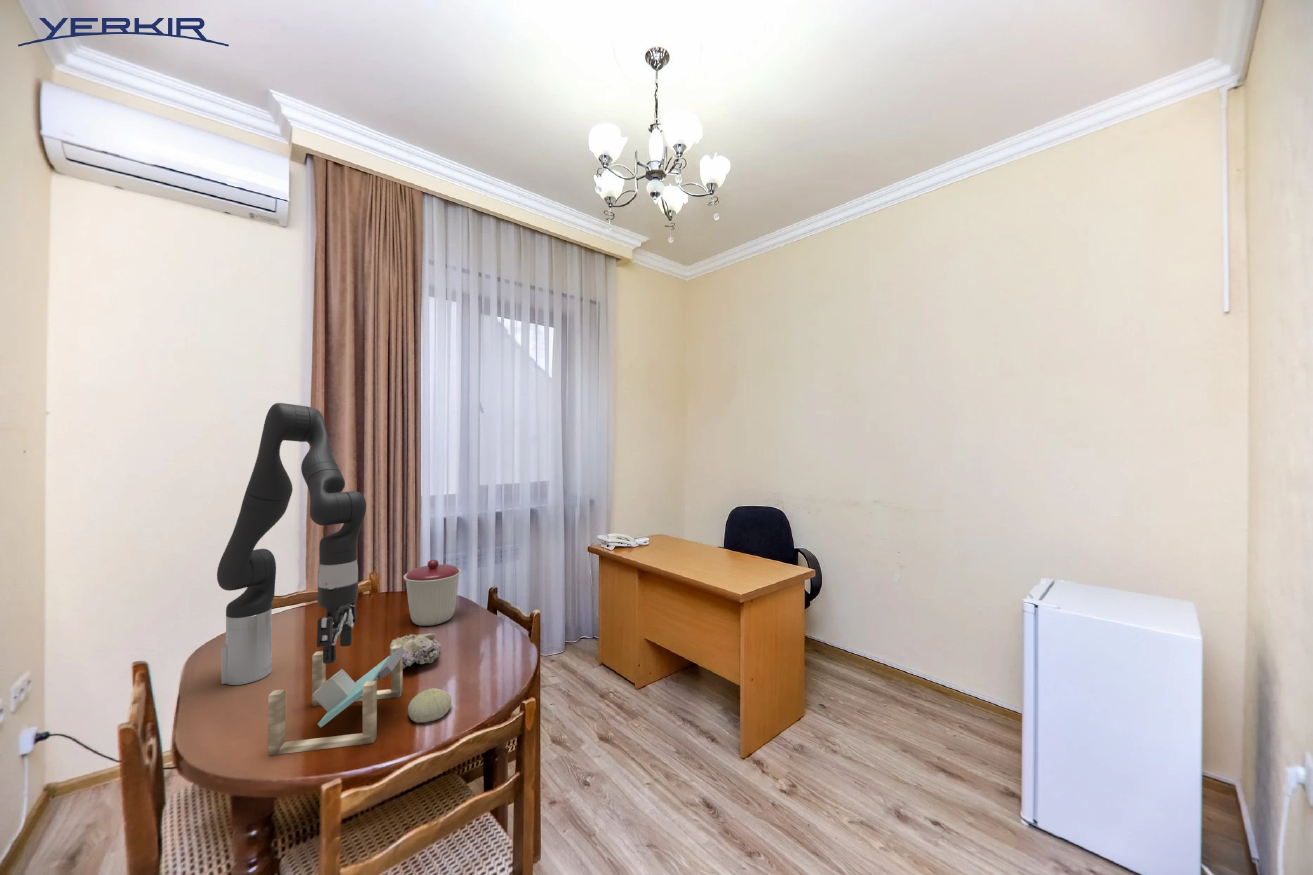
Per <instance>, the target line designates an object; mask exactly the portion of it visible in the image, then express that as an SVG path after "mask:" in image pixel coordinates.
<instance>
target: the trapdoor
mask: <svg viewBox="0 0 1313 875" xmlns="http://www.w3.org/2000/svg"><path fill="white" fill-rule="evenodd" d="M405 652H406V651H405V650H404V649H403V648H402V647H400V648H399V649H397V650H396V651H395V652H393V653H392V655H388V656H387V657H385V659H383V660H382V661H380V662H379V663H378V664H377V665H376V666H374V667H373V668H372V669H370V670H369V671H368V672H366V673H365V674H364V675H363V676H361V677H360V678H359V679H358V680H356V681H354V682H355V683H356V684H357V685H356V686H355V688H354V689H353V690H352V691H351V693H350V694H349V695H348V696H347V697H346V698H345V699H343V700H342V701H341V702H340V703H338V704H337V705H336V706H334V707H333V708H332V709H331V710H329V711H328V712H327V711H326V713H324V714H325V715H324V716H323V717H322V718H321V720H320V721H319V722H318V723H317V726H319V728H322V727H324V726H325V725H326V724H328V722H330V721H331V720H332V719H334V718H335V717H337V716H338V715H339V714H340V713H341V712H342V711H344V710H345V709H347V708H348V707H350V706H351V705H352V704H353V703H355V702H354V701H355V700H357V699H358V698H359V697H360V696H362V695H363V685H364V684H365V683H366V682H367V681H373V680H374V679H375V677H376V676H377V675H379V676H380V679H381V680H383V679H384V678H386V677H387V676H388V675H389V674H391V672H392V671H393V669H394V668H395V666H396V665H397V663H398V662H399V660H400V659H401V657H402V656H403V654H404V653H405Z"/></svg>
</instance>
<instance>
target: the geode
mask: <svg viewBox="0 0 1313 875" xmlns="http://www.w3.org/2000/svg"><path fill="white" fill-rule="evenodd" d="M435 638H436V633H422V634H409V635H407V634H406V635H404V636H401V637H396V639H392V640H391V643H390V645H389V654H390V655H389V656H391V648H392V647H393V646H394V645H403V649H404V650H405V651H406V652H405V653H404V654H403V670H404V669H405V668H406V667H408V666H409V667H411V665H413V664H414V663H416V664H417V665H418V664H419V665H424V664H433V662H434V661H436V660H435V659H437V658H438V657H439V656H440V650H441V646H442V644H441V643H439V642H438V640H436V639H435Z"/></svg>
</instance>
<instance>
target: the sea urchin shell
mask: <svg viewBox="0 0 1313 875" xmlns="http://www.w3.org/2000/svg"><path fill="white" fill-rule="evenodd" d="M451 706H452V696H451V695H450V694H449V692H448V691H445V690H443V689H441V688H436V687H435V688H434V687H432V688H429V689H424V690H423V691H420V692H419V693H418V694H416V695H415V696H414V697H413V698H412V699H411V700H410V702H409V703H408V707H407V714H408V717H409V718H410V720H412V722H415V723H421V724H422V723H428V722H433V721H436V720H440V719H441V718H443V717H444V716H445V715H446V714H448V711H449V710H450V708H451Z"/></svg>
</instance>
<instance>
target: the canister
mask: <svg viewBox="0 0 1313 875" xmlns="http://www.w3.org/2000/svg"><path fill="white" fill-rule="evenodd" d="M461 573H462V569H461V568H459V567H456V566H455V565H451V564H444V563H443V564H439V561H438V560H437V559H430V560H429V561H427V564H426V565H424V566H420V567H416V568H413V569H411V570H410V571H408V572H406V573H405V574H404V575H403V580H404V581H405V585H406V594H407V602H408V610H409V615H410V619H411V621H412V623H413V624H415V625H417V626H419V627H420V626H421V627H422V626H423V627H428V626H436V625H439V624H443V623H446V622H448V621H450V619H452V618H453V616H454V614H455V609H456V602H457V595H458V586H459V580H460V579H459V578H460V574H461Z"/></svg>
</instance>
